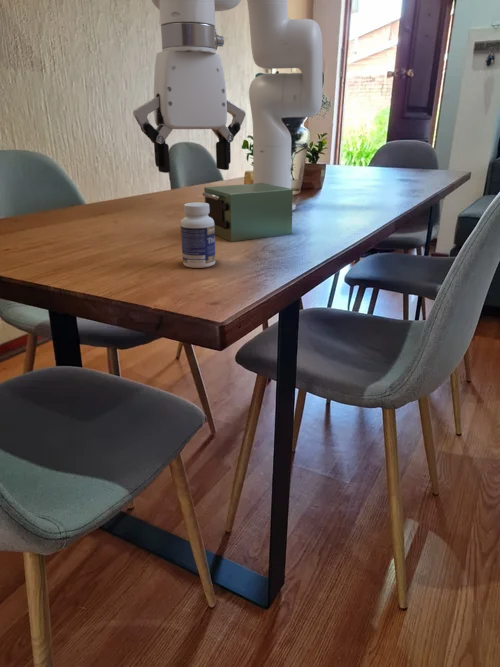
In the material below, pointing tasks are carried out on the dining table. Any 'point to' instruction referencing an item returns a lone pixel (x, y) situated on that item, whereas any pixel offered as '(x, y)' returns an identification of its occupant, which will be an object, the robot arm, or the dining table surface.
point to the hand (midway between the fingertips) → (194, 170)
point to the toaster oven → (250, 210)
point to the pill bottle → (197, 236)
